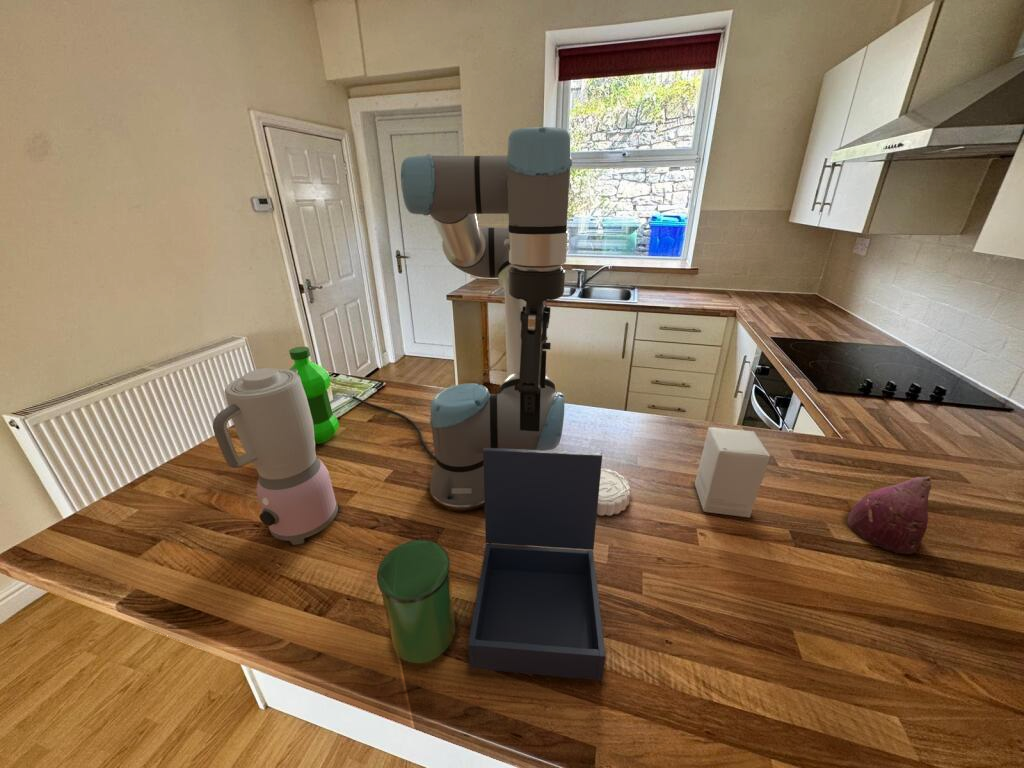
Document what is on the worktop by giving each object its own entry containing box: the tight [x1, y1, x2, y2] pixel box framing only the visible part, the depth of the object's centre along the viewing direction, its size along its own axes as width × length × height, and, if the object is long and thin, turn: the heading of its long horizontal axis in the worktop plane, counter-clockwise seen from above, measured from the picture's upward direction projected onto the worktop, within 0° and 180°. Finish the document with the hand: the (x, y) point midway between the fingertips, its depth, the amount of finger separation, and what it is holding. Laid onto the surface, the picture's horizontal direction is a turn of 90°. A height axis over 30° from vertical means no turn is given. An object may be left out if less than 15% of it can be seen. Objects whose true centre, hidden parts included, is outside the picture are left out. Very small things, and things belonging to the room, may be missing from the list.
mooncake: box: [597, 467, 632, 517], centre depth 84 cm, size 12×12×4 cm
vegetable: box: [847, 476, 932, 555], centre depth 73 cm, size 10×10×15 cm
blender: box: [212, 367, 339, 546], centre depth 71 cm, size 16×12×32 cm
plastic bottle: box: [288, 345, 340, 445], centre depth 100 cm, size 10×10×25 cm
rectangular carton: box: [694, 426, 771, 518], centre depth 80 cm, size 9×9×15 cm
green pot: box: [376, 539, 456, 664], centre depth 56 cm, size 9×9×14 cm
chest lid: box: [483, 448, 603, 551], centre depth 63 cm, size 18×18×1 cm
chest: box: [467, 543, 607, 681], centre depth 60 cm, size 17×18×6 cm
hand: (533, 406), depth 62 cm, fingers open, 13 cm apart
